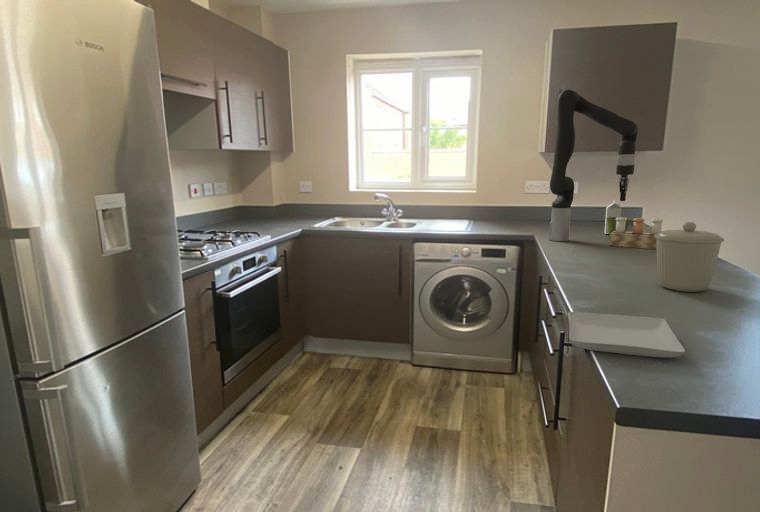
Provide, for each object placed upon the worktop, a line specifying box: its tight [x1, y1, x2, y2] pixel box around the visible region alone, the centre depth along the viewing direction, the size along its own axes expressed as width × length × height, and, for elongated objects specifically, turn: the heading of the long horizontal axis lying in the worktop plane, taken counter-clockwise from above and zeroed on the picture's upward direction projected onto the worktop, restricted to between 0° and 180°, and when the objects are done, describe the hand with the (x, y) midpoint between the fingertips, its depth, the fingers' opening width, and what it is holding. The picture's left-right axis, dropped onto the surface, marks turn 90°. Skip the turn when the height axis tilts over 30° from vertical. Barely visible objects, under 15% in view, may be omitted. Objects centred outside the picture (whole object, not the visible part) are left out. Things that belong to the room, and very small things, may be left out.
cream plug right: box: [650, 218, 664, 235], centre depth 215 cm, size 5×5×8 cm
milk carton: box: [604, 200, 622, 235], centre depth 257 cm, size 7×7×19 cm
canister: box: [654, 221, 725, 293], centre depth 143 cm, size 18×18×21 cm
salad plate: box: [567, 311, 686, 359], centre depth 102 cm, size 21×21×3 cm
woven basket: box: [609, 231, 657, 250], centre depth 221 cm, size 22×10×6 cm, turn 55°
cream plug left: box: [616, 217, 628, 234], centre depth 224 cm, size 5×5×8 cm
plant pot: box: [605, 216, 632, 239], centre depth 241 cm, size 12×12×11 cm
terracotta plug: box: [632, 217, 645, 235], centre depth 220 cm, size 5×5×8 cm
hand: (622, 200), depth 221 cm, fingers closed
